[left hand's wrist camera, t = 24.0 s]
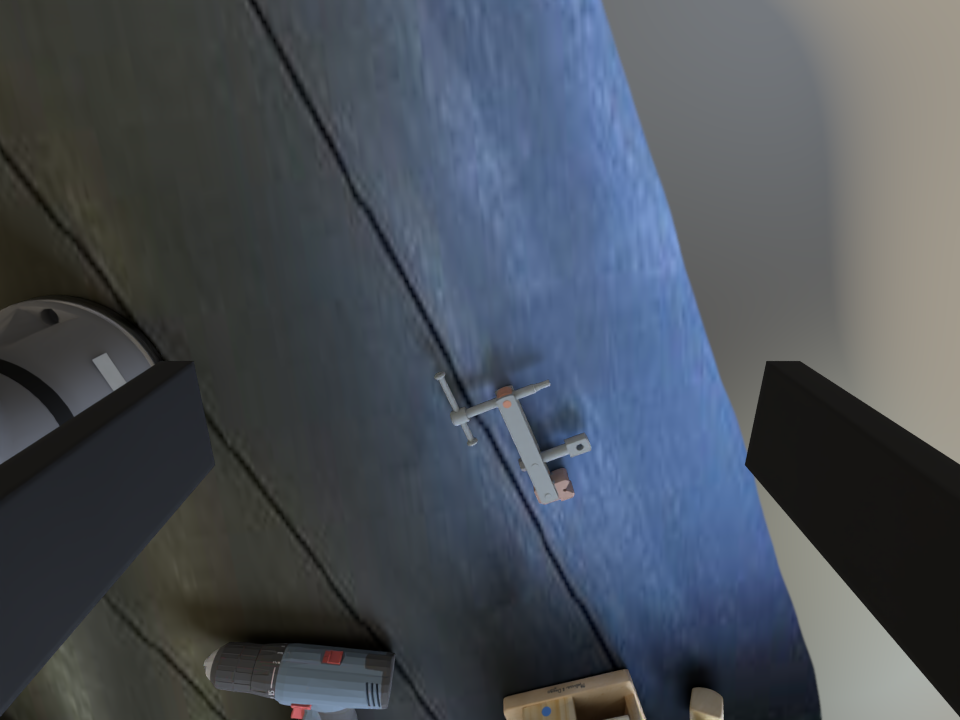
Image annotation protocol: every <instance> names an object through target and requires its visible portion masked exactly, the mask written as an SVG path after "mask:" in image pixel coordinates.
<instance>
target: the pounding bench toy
mask: <svg viewBox="0 0 960 720" xmlns="http://www.w3.org/2000/svg"><path fill="white" fill-rule="evenodd" d="M503 705H504V715H505V717H506V719H507V720H646V717H645V714H644V712H643V709H642V706H641V703H640V701H639V698H638V695H637V692H636V690H635V687H634V684H633V682H632V679H631V676H630V674H629V671H628V670H627V669H623V670H618V671H614V672H609V673H605V674H601V675H597V676H592V677H588V678H584V679H579V680H575V681H571V682H566V683H562V684H558V685H554V686H549V687H545V688H541V689H537V690H532V691H528V692H524V693H520V694H515V695H512V696H507V697H505V698H504V699H503ZM689 711H690V720H724V719H723V698H722V696H721V695H720V694H718V693H717V692H715V691H713V690H711V689H707V688H701V687H696V688H693V689H692V694H691V700H690V709H689Z"/></svg>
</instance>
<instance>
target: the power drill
mask: <svg viewBox="0 0 960 720" xmlns="http://www.w3.org/2000/svg"><path fill="white" fill-rule="evenodd" d="M394 663H395V653H391V652H382V651H380V652H379V651H371V650H362V649H352V648H342V647H332V646H322V645H312V644H302V643H292V644H287V643H274V644H256V643H249V642H247V643H243V642H229V643H228V644H226V645H224V646H223V647H221V648H219V649H218V650H216V651H214V652H213V653H212V654H211V656H210V657H208V659H206V660H205V662H204V666H205V668H204V669H206V676H207V677H208V678H209V680H210V681H211V682H212V684H213V685H214V686H215V688H217V689H221V690H228V691H235V692H245V693H251V694H255V695H259V696H263V697H267V698H274V699H276V701H278V702H279V703H280V704H283V705H289V706H291V707H292V708H293V710H292V713H291V718H295V719H302V720H358V719H357V714H356V711H355V708H362V709H386V708H388V704H389V697H390V692H391V685H392V678H393V671H394Z"/></svg>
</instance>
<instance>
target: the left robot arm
mask: <svg viewBox="0 0 960 720" xmlns="http://www.w3.org/2000/svg"><path fill="white" fill-rule="evenodd" d="M214 466H215V462H214V457H213V452H212V448H211V443H210V438H209V433H208V428H207V424H206V419H205V414H204V409H203V404H202V400H201V395H200V390H199V385H198V380H197V376H196V371H195V366H194V361H163V360H162V358H161V356H160V355H159V353H158V352H157V350H156V349H155V347H154V346H153V345H152V343H151V342H150V341H149V340H148V339H147V338H146V336H145V335H144V334H143V333H142V332H141V331H140V330H139V329H137V328H136V327H135V326H134V325H133V324H132V323H130V322H129V321H128V320H126V319H125V318H123V317H122V316H120V315H119V314H117V313H116V312H114V311H112V310H110V309H108V308H106V307H104V306H102V305H100V304H97V303H94V302H92V301H88V300H85V299H81V298H76V297H71V296H62V295H51V296H41V297H36V298H32V299H29V300H26V301H23V302H20V303H16V304H13V305H10V306H8V307H6V308H4V309H2V310H0V717H1V715H2V714H3V713H4V712H5V711H6V710H7V708H8V707H9V706H10V705H11V704H12V702H13V701H14V700H15V699H16V698H17V697H18V695H19V694H20V693H21V692H22V691H23V690H24V688H25V687H26V686H27V685H28V684H29V683H30V681H31V680H32V679H33V678H34V677H35V676H36V674H37V673H38V672H39V671H40V670H41V668H42V667H43V666H44V665H45V664H46V663H47V661H48V660H49V659H50V658H51V657H52V656H53V654H54V653H55V652H56V651H57V650H58V649H59V647H60V646H61V645H62V644H63V643H64V641H65V640H66V639H67V638H68V637H69V636H70V634H71V633H72V632H73V631H74V630H75V629H76V627H77V626H78V625H79V624H80V623H81V622H82V620H83V619H84V618H85V617H86V616H87V615H88V613H89V612H90V611H91V610H92V609H93V607H94V606H95V605H96V604H97V603H98V602H99V600H100V599H101V598H102V597H103V596H104V595H105V593H106V592H107V591H108V590H109V589H110V588H111V586H112V585H113V584H114V583H115V582H116V581H117V579H118V578H119V577H120V576H121V575H122V573H123V572H124V571H125V570H126V569H127V568H128V566H129V565H130V564H131V563H132V562H133V561H134V559H135V558H136V557H137V556H138V555H139V554H140V552H141V551H142V550H143V549H144V548H145V546H146V545H147V544H148V543H149V542H150V541H151V539H152V538H153V537H154V536H155V535H156V534H157V532H158V531H159V530H160V529H161V528H162V527H163V525H164V524H165V523H166V522H167V521H168V520H169V518H170V517H171V516H172V515H173V514H174V512H175V511H176V510H177V509H178V508H179V507H180V505H181V504H182V503H183V502H184V501H185V500H186V498H187V497H188V496H189V495H190V494H191V493H192V491H193V490H194V489H195V488H196V487H197V486H198V484H199V483H200V482H201V481H202V480H203V478H204V477H205V476H206V475H207V474H208V473H209V471H210V470H211V469H212V468H213V467H214ZM745 466H746V467H747V468H748V469H749V470H750V471H751V473H752V474H753V475H754V476H755V477H756V478H757V480H758V481H759V482H760V483H761V484H762V485H763V487H764V488H765V489H766V490H767V491H768V493H769V494H770V495H771V496H772V497H773V498H774V500H775V501H776V502H777V503H778V504H779V505H780V507H781V508H782V509H783V510H784V511H785V512H786V514H787V515H788V516H789V517H790V518H791V520H792V521H793V522H794V523H795V524H796V525H797V527H798V528H799V529H800V530H801V531H802V532H803V534H804V535H805V536H806V537H807V538H808V539H809V541H810V542H811V543H812V544H813V545H814V547H815V548H816V549H817V550H818V551H819V552H820V554H821V555H822V556H823V557H824V558H825V559H826V561H827V562H828V563H829V564H830V565H831V566H832V568H833V569H834V570H835V571H836V572H837V573H838V575H839V576H840V577H841V578H842V579H843V581H844V582H845V583H846V584H847V585H848V586H849V587H850V589H851V590H852V591H853V592H854V593H855V595H856V596H857V597H858V598H859V599H860V600H861V602H862V603H863V604H864V605H865V606H866V607H867V609H868V610H869V611H870V612H871V613H872V615H873V616H874V617H875V618H876V619H877V620H878V622H879V623H880V624H881V625H882V626H883V627H884V629H885V630H886V631H887V632H888V633H889V634H890V636H891V637H892V638H893V639H894V640H895V641H896V643H897V644H898V645H899V646H900V647H901V649H902V650H903V651H904V652H905V653H906V654H907V656H908V657H909V658H910V659H911V660H912V661H913V663H914V664H915V665H916V666H917V667H918V668H919V670H920V671H921V672H922V673H923V674H924V675H925V677H926V678H927V679H928V680H929V681H930V683H931V684H932V685H933V686H934V687H935V688H936V690H937V691H938V692H939V693H940V694H941V695H942V697H943V698H944V699H945V700H946V701H947V702H948V704H949V705H950V706H951V707H952V708H953V709H954V711H955V712H956V713H957V714H958V715H959V717H960V464H958V463H957V462H955V461H954V460H952V459H950V458H949V457H947V456H946V455H944V454H943V453H941V452H940V451H938V450H936V449H935V448H933V447H932V446H930V445H929V444H927V443H926V442H924V441H923V440H921V439H919V438H918V437H916V436H915V435H913V434H912V433H910V432H909V431H907V430H906V429H904V428H902V427H901V426H899V425H898V424H896V423H895V422H893V421H892V420H890V419H889V418H887V417H885V416H884V415H882V414H881V413H879V412H878V411H876V410H875V409H873V408H872V407H870V406H868V405H867V404H865V403H864V402H862V401H861V400H859V399H858V398H856V397H855V396H853V395H851V394H850V393H848V392H847V391H845V390H844V389H842V388H841V387H839V386H838V385H836V384H834V383H833V382H831V381H830V380H828V379H827V378H825V377H824V376H822V375H821V374H819V373H817V372H816V371H814V370H813V369H811V368H810V367H808V366H807V365H805V364H804V363H802V362H800V361H766V366H765V371H764V376H763V380H762V385H761V390H760V395H759V400H758V404H757V409H756V414H755V419H754V424H753V428H752V433H751V438H750V443H749V448H748V452H747V457H746V462H745Z"/></svg>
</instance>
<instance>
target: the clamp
mask: <svg viewBox="0 0 960 720" xmlns="http://www.w3.org/2000/svg"><path fill="white" fill-rule="evenodd" d="M444 376H445V372H443V371H442V372H438V373H437V374H435V376H434V378H435V379H436V380H439V382H440V384H441V386H442V388H443V390H444V392H445V394H446V396H447V398H448V400H449V402H450V404H451V406H452V408H453V410H454V411H452V412H451V413H450V417H451V420H452V422H453V424H454V425H456V426H458V425H460V424H461V426H462V428H463V430H464V432H465V435H466V437H467V439H468V442H467V444H468V446H473V445H475V444H476V443H477V442H478V439H477V438H474V437H473V435H472V433H471V431H470V429H469V427H468V425H467V423H466V422H468V421H470V417H473V416H476V415H478V414H481V413H483V412H486V411H489V410H491V409H494V408H497V407H498V408H499V410H500V412H501V415H502V417H503V419H504V421H505V423H506V426H507V428H508V430H509V432H510V434H511V437H512V439H513V441H514V443H515V445H516V448H517V450H518V452H519V454H520V456H521V458H520V459H519V460H518V461H519V465H520V467H521V470H522V471H523V472H525V471H527V472H528V474H529V476H530V478H531V481H532V483H533V486H534V493H535V495H536V497H537V499H538V501H539V503H541V504H544V505H545V504H548V503H551V502H554V501H557V500H560V499H561V501H564V500H566V499H569V498H572V497H573V496H574V490H573V486H572V483H571V481H570V480H569V478H568V475H567V471H566V469H564V468H560V469H557V470H554V471H551V472H552V474H551V473H550V471H549V468H548V466H547V464H546V462H548V461H551V460H554V459H557V458H560V457H562V456H565V455H568V454H570V456H571V457H574V456H577V455H580V454H582V453H585V452H588V451H591V445H590V443H589V440H588V437H587V436H586V434H585V433H581V434H579V435H576V436H573V437H570V438H568V439H565V440H564V441H565V444H562V445H559V446H557V447H554V448H551V449H548V450H546V451H543V452H541V450H540V448H539V445H538V443H537V441H536V439H535V436H534V434H533V432H532V429H531V427H530V425H529V423H528V420H527V418H526V416H525V413H524V411H523V409H522V407H521V404H520V402H519V400H518V399H520V398H523V397H526V396H528V395H531V394H534V393H536V391H539V390H540V389H542V388H545V387H548V386H550V382H549V380H546V381H543V382H541V383H538V384H537V383H536V384H534V385H533V384H531V385H528V386H526V387H523V388H521V389H518V390H515V391H514V388H513V386H512V385H509V386H505V387H503V388H500V389H498V390H497V391H495V394H496V396H497V398H494V399H492V400H489V401H486V402H484V403H481V404H479V405H476V406H473V407H471V408H468V409H467V408H466V407H462V408H459V406H458V404H457V402H456V400H455V398H454V396H453V394H452V392H451V390H450V388H449V386H448V384H447V382H446V380H445V378H444ZM578 444H580V445H578Z"/></svg>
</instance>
